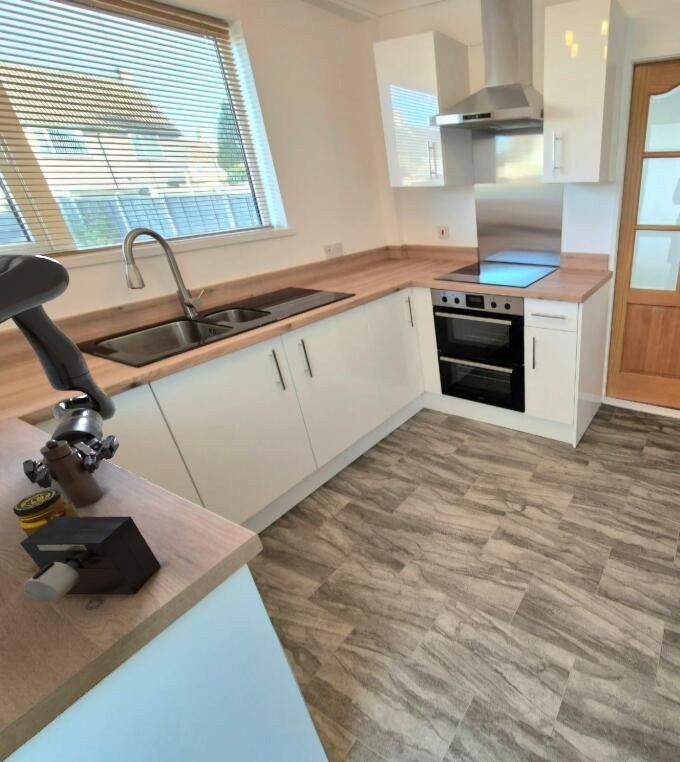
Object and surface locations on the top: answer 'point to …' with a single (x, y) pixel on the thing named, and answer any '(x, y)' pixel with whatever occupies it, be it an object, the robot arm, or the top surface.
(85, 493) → the pepper mill
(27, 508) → the condiment
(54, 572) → the knob
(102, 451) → the robot arm
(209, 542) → the top surface
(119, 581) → the panel
